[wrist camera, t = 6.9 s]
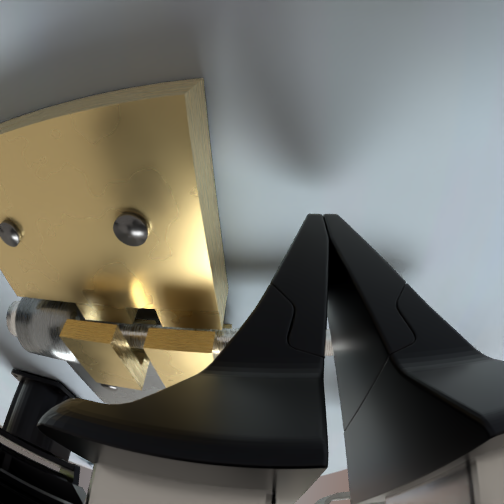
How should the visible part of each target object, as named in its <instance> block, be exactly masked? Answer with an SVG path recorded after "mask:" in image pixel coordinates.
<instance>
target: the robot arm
mask: <svg viewBox="0 0 504 504" xmlns="http://www.w3.org/2000/svg"><path fill="white" fill-rule="evenodd" d="M327 317H328V323H329V329H330V335H331V341H332V347H333V354H334V360H335V367H336V374H337V381H338V388H339V396H340V403H341V411H342V420H343V428H344V431H345V432H344V438H345V447H346V457H347V467H348V477H349V490H350V502H351V504H369V503H376V502H382V501H385V504H504V361H501V360H496V359H493V358H490V357H487V356H486V355H484V354H482V353H481V352H479V351H478V350H476V349H475V348H474V347H473V346H472V345H471V344H470V343H469V342H468V341H467V340H465V339H464V338H463V337H462V336H461V335H460V334H459V333H458V332H457V331H456V330H455V329H454V328H453V327H452V326H450V325H449V324H448V323H447V322H446V321H445V320H444V319H443V318H442V317H441V316H440V315H439V314H437V313H436V312H435V311H434V310H433V309H432V308H431V307H430V306H429V305H428V304H427V303H426V302H425V301H424V300H423V299H422V298H421V297H420V296H419V295H418V294H417V293H416V292H415V291H414V290H413V289H412V288H411V287H410V286H409V284H407V283H406V282H405V280H404V279H403V278H402V277H401V276H400V275H399V274H398V273H397V272H396V271H395V270H394V269H393V268H392V267H391V266H390V265H389V264H388V263H387V262H386V261H385V260H384V259H383V258H382V257H381V256H380V255H379V254H378V253H377V252H376V251H375V250H374V249H373V248H372V247H371V246H370V245H369V244H368V243H367V242H366V241H365V240H364V239H363V238H362V237H361V236H360V235H359V234H358V233H357V232H356V231H355V230H354V229H353V228H351V227H350V226H349V225H348V224H347V223H346V222H345V221H344V220H343V219H342V218H341V217H340V216H339V215H337V214H324V215H323V216H322V214H308V215H307V217H306V218H305V220H304V222H303V224H302V226H301V228H300V230H299V231H298V233H297V235H296V237H295V239H294V241H293V243H292V244H291V246H290V248H289V250H288V252H287V254H286V255H285V257H284V259H283V261H282V263H281V265H280V266H279V268H278V270H277V272H276V274H275V275H274V277H273V279H272V281H271V283H270V285H269V286H268V288H267V290H266V291H265V293H264V295H263V296H262V298H261V300H260V301H259V303H258V305H257V306H256V308H255V309H254V310H253V312H252V313H251V315H250V316H249V317H248V319H247V320H246V321H245V323H244V324H243V325H242V326H241V328H240V329H239V330H238V331H237V332H236V334H235V335H234V336H233V337H232V339H231V340H230V341H229V342H228V344H227V345H226V346H225V347H224V348H223V350H222V351H221V352H220V353H219V354H218V356H217V357H216V358H215V359H214V360H213V361H212V362H211V363H210V364H209V365H208V366H207V367H206V368H205V369H204V370H202V371H201V372H199V373H198V374H196V375H194V376H192V377H190V378H188V379H185V380H183V381H181V382H179V383H176V384H174V385H172V386H170V387H167V388H165V389H163V390H160V391H158V392H156V393H153V394H151V395H149V396H146V397H144V398H141V399H139V400H136V401H133V402H129V403H123V404H103V403H98V402H94V401H89V400H85V399H79V398H75V397H74V396H73V395H72V394H71V393H70V392H69V391H68V390H67V389H66V388H65V387H64V386H63V385H62V384H60V383H59V382H56V381H52V380H48V379H45V378H41V377H38V376H34V375H31V374H28V373H24V372H21V371H18V370H15V369H13V370H12V372H11V374H12V375H13V376H14V377H15V378H16V379H17V380H18V381H20V383H19V385H18V387H17V390H16V392H15V395H14V398H13V400H12V403H11V405H10V408H9V411H8V414H7V416H6V419H5V422H4V425H3V428H0V438H2V439H4V440H6V441H7V442H9V443H11V444H13V445H14V446H16V447H18V448H21V449H22V450H24V451H26V452H28V453H30V454H32V455H34V456H36V457H38V458H40V459H42V460H44V461H46V462H48V463H50V464H53V465H55V466H57V467H59V468H60V471H59V472H58V471H56V470H53V469H51V468H49V467H47V466H45V465H43V464H40V463H38V462H36V461H34V460H32V459H30V458H28V457H26V456H24V455H22V454H20V453H19V452H17V451H15V450H13V449H11V448H9V447H7V446H6V445H4V444H2V443H0V504H294V503H295V502H296V501H297V500H298V499H299V498H300V497H301V496H302V495H303V494H304V493H305V492H306V491H307V490H308V489H309V487H310V486H311V485H312V484H313V483H314V482H315V481H316V480H317V479H318V478H319V477H320V476H321V474H322V473H323V472H324V471H325V470H326V469H327V467H328V436H327V420H326V406H325V394H324V358H325V345H326V329H327ZM71 451H72V452H74V453H75V454H77V455H79V456H81V457H82V458H84V459H86V460H88V461H90V462H92V463H93V464H94V466H93V471H92V475H91V480H90V484H89V489H88V493H87V495H86V493H85V491H84V489H83V488H82V487H79V486H78V484H79V474H80V466H78V465H75V464H71V463H68V460H69V456H70V452H71Z"/></svg>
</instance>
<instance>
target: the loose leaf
mask: <svg viewBox="0 0 504 504" xmlns="http://www.w3.org/2000/svg"><path fill="white" fill-rule="evenodd" d="M0 269H1V271H2V273H3V274H4V276H5V277H6V279H7V281H8V282H9V284H10V285H11V287H12V289H13V290H14V292H15V293H16V295H17V296H20V297H28V298H36V299H45V300H54V301H63V302H73V303H76V305H77V307H78V308H79V310H80V312H81V313H82V315H83V317H84V318H85V319H87V320H95V321H105V322H114V323H125V324H133V323H140V324H153V325H157V323H156V321H155V320H142V319H135V317H136V314H137V311H138V308H148V309H155V310H156V312H157V315H158V317H159V320H160V322H161V325H162V327H176V328H193V329H213V330H222V328H225V329H232V324H223V321H224V314H225V307H226V301H227V294H228V282H227V275H226V267H225V260H224V253H223V245H222V237H221V230H220V222H219V214H218V206H217V198H216V190H215V181H214V173H213V164H212V156H211V147H210V138H209V128H208V119H207V109H206V100H205V90H204V79H203V78H198V79H188V80H179V81H171V82H164V83H157V84H150V85H144V86H138V87H132V88H127V89H121V90H116V91H111V92H106V93H102V94H97V95H93V96H89V97H84V98H80V99H76V100H72V101H69V102H65V103H61V104H58V105H54V106H51V107H47V108H44V109H41V110H38V111H34V112H31V113H28V114H25V115H22V116H19V117H16V118H14V119H11V120H8V121H5V122H3V123H0ZM59 337H60V338H61V339H62V341H63V342H64V343H65V345H66V346H67V347H68V349H69V350H70V351H71V352H72V354H73V355H74V356H75V357H76V359H77V360H78V361H79V362H80V364H81V365H82V366H83V367H84V369H85V370H86V371H87V372H88V373H89V375H90V376H91V377H92V378H93V379H94V380H95V381H96V382H97V383H102V384H107V385H112V386H118V387H124V388H130V389H136V390H142V388H143V384H144V380H145V377H146V373H147V369H148V365H149V362H150V361H151V363H152V365H153V367H154V368H155V370H156V372H157V374H158V375H159V377H160V379H161V380H162V382H163V384H164V385H165V387H166V388H167V387H170V386H172V385H174V384H176V383H179V382H181V381H183V380H185V379H188V378H190V377H192V376H194V375H196V374H198V373H199V372H201V371H202V370H204V369H205V368H206V367H207V366H208V365H209V364H210V363H211V362H212V361H213V360H214V359H215V358H216V357H217V356H218V354H219V353H220V350H219V345H218V341H217V337H216V332H211V331H192V330H175V329H161V328H149V330H148V333H147V336H146V340H145V343H144V346H143V349H140V348H131V347H130V346H129V345H128V343H127V341H126V339H125V338H124V336H123V334H122V332H121V331H120V329H119V327H118V325H115V324H106V323H97V322H88V321H80V320H72V319H67V320H66V322H65V324H64V327H63V329H62V331H61V333H60V335H59Z"/></svg>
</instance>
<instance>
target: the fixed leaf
mask: <svg viewBox="0 0 504 504" xmlns="http://www.w3.org/2000/svg"><path fill="white" fill-rule="evenodd" d="M67 319H72V320H80V321H88V322H97V323H106V324H115V325H118V327H119V329H120V331H121V332H122V334H123V336H124V338H125V339H126V341H127V343H128V345H129V346H130V347H131V348H140V349H143V346H144V343H145V340H146V336H147V333H148V330H149V328H161V329H175V330H192V331H211V332H216V337H217V341H218V345H219V350H220V352H221V351H222V350H223V348H224V347H225V346H226V345H227V344H228V342H229V341H230V340H231V339H232V337H233V336H234V335H235V334H236V332H237V331H238V330H239V329H225V328H222V330H213V329H193V328H176V327H162V325H153V324H140V323H133V324H125V323H114V322H105V321H95V320H87V319H85V318H84V317H83V315H82V313H81V312H80V310H79V308H78V307H77V305H76V303H73V302H63V301H54V300H45V299H36V298H28V297H23V298H22V299H21V301H15V302H13V303H12V304H11V305H10V307H9V309H8V312H7V326H8V329H9V331H10V332H11V334H12V335H14V336H16V337H18V340H19V342H20V344H21V345H22V346H23V348H24V349H25V350H27V351H28V352H30V353H34V354H38V355H42V356H46V357H51V358H55V359H60V360H64V361H67V363H68V364H69V365H70V366H71V367H72V368H73V370H74V371H75V372H76V373H77V374H78V375H79V376H80V378H81V379H82V380H83V381H84V382H85V383H86V384H87V385H88V386H89V387H90V388H91V390H92V391H93V392H94V393H95V394H96V395H97V396H98V397H99V398H100V399H101V400H102V401H103V402H104V403H108V404H123V403H129V402H133V401H136V400H139V399H141V398H144V397H146V396H149V395H151V394H153V393H156V392H158V391H160V390H163V389H165V388H166V387H165V385H164V384H163V382H162V380H161V379H160V377H159V375H158V374H157V372H156V370H155V368H154V367H153V365H152V363H151V361H150V362H149V365H148V369H147V373H146V377H145V380H144V384H143V388H142V390H136V389H130V388H124V387H118V386H112V385H107V384H102V383H97V382H96V381H95V380H94V379H93V378H92V377H91V376H90V375H89V373H88V372H87V371H86V370H85V369H84V367H83V366H82V365H81V364H80V362H79V361H78V360H77V359H76V357H75V356H74V355H73V354H72V352H71V351H70V350H69V349H68V347H67V346H66V345H65V343H64V342H63V341H62V339H61V338H60V337H59V335H60V333H61V331H62V329H63V327H64V324H65V322H66V320H67ZM325 356H334V354H333V347H332V341H331V335H330V329H326V345H325Z"/></svg>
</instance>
